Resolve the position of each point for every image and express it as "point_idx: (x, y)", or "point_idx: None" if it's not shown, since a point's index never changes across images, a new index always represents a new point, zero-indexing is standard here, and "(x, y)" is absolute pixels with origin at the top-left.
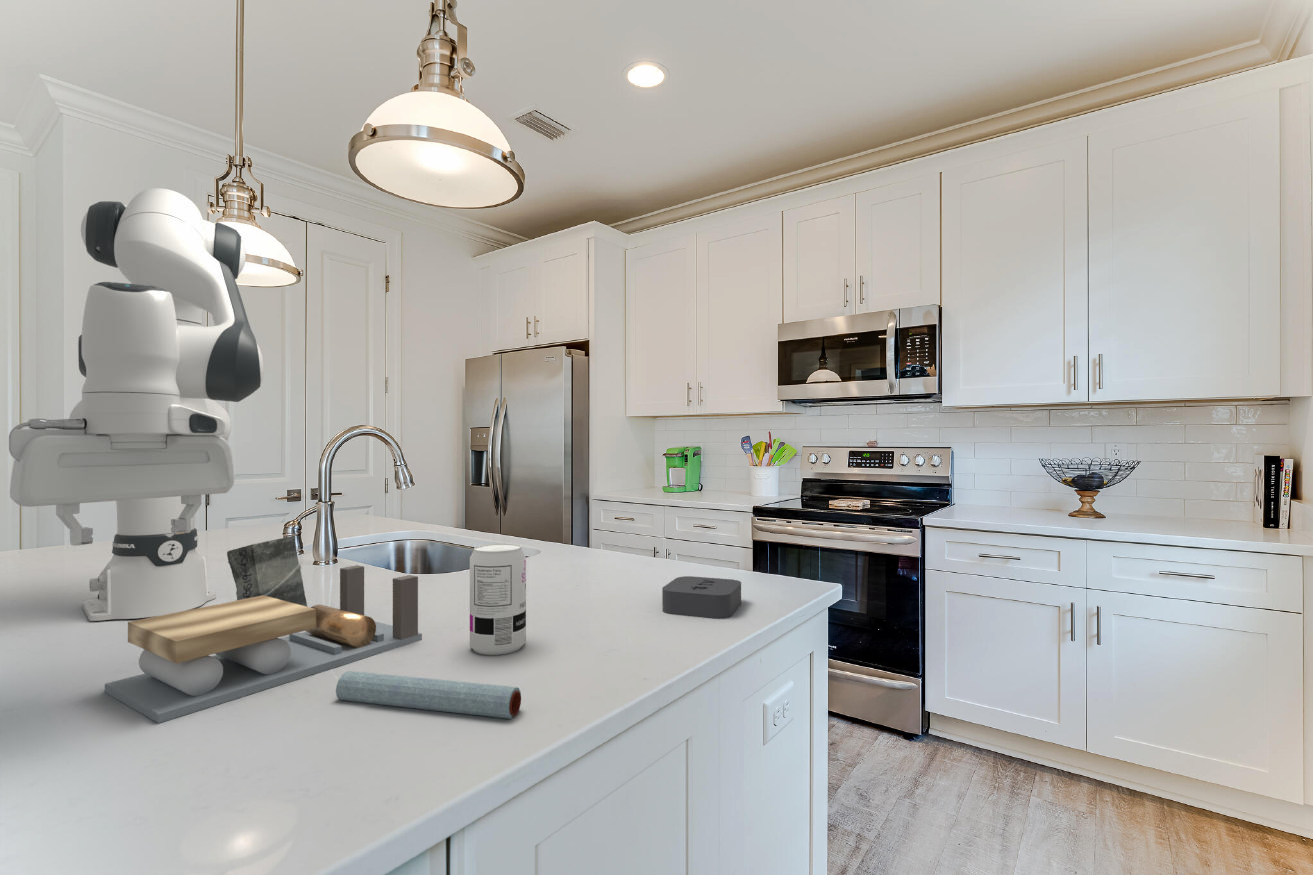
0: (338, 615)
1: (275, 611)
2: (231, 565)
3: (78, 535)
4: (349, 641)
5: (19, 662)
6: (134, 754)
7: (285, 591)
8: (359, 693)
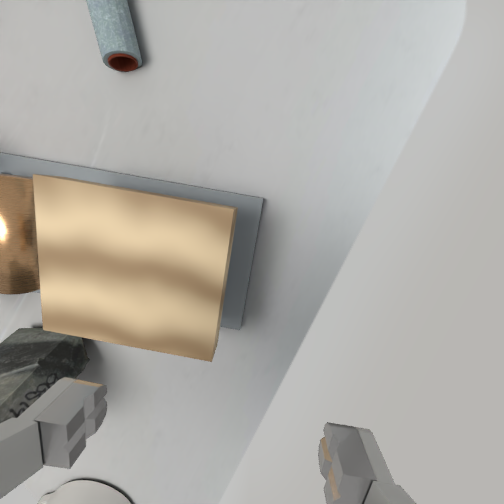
0: (5, 223)
1: (77, 224)
2: None
3: (378, 454)
4: None
5: (234, 462)
6: (313, 145)
7: (2, 365)
8: (129, 16)
